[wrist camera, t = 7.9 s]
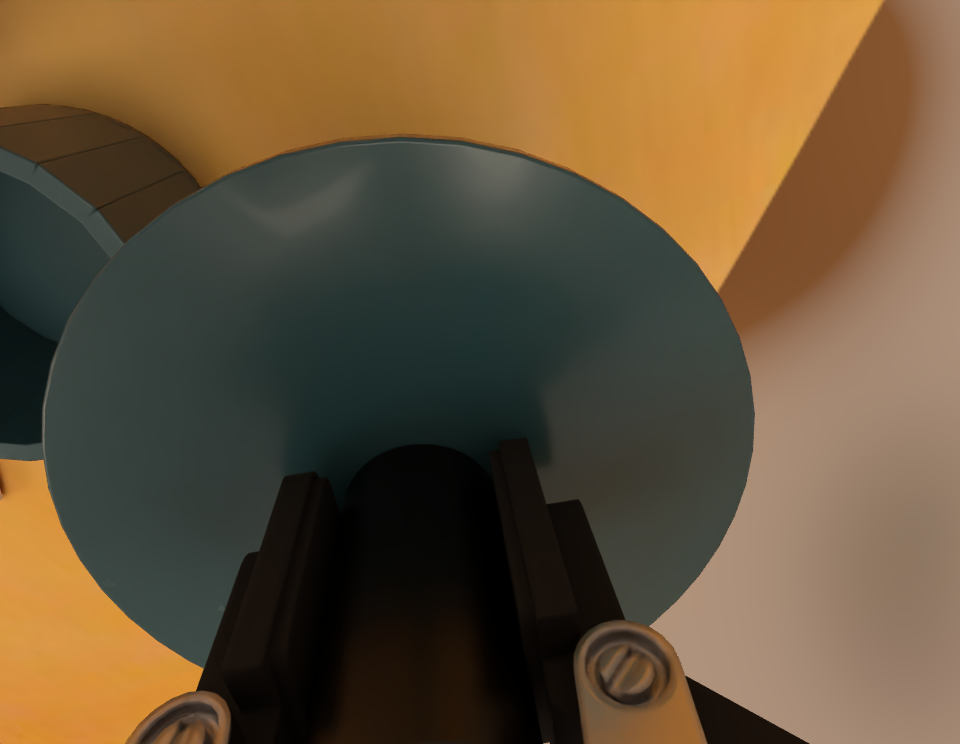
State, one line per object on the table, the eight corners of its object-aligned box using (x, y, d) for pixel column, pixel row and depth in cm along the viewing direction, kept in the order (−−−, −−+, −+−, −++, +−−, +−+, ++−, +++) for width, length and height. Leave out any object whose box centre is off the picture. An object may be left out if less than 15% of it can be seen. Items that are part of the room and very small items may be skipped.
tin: (-120, 127, 24) (-358, 154, 17) (173, 85, 25) (67, 93, 17) (27, 380, 30) (-101, 483, 23) (262, 343, 31) (212, 432, 23)
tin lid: (-80, 195, 9) (-1003, 429, 3) (759, 74, 9) (1329, 81, 4) (215, 706, 16) (92, 1097, 10) (706, 623, 16) (877, 950, 10)
